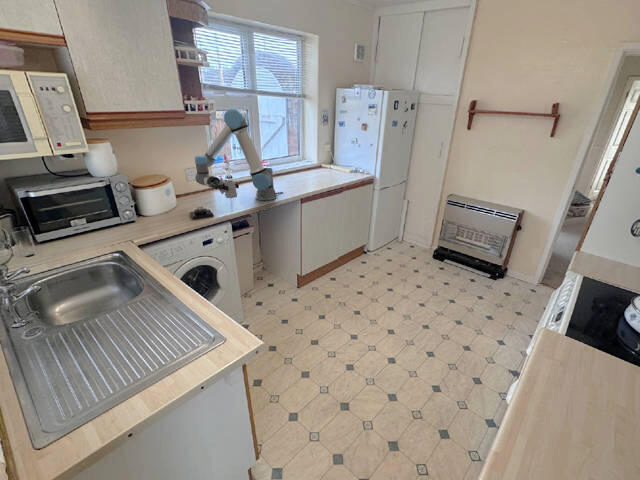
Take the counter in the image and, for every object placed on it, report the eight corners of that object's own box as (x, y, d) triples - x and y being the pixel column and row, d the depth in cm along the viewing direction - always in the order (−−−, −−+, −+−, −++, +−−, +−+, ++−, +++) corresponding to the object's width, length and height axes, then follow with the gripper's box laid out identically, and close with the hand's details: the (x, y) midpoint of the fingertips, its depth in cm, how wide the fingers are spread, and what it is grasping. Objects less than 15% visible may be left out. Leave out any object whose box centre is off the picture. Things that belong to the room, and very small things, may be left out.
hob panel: (209, 212, 210) (208, 206, 208) (213, 216, 202) (212, 210, 201) (190, 215, 204) (189, 209, 202) (193, 220, 196) (192, 213, 195)
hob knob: (203, 209, 204) (203, 206, 204) (205, 211, 201) (204, 208, 200) (196, 210, 202) (195, 207, 201) (197, 212, 199) (197, 209, 198)
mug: (233, 198, 204) (231, 180, 198) (217, 197, 206) (214, 178, 201) (239, 195, 210) (237, 177, 205) (224, 194, 213) (221, 176, 208)
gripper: (225, 184, 225) (246, 190, 212) (199, 189, 210) (219, 196, 198) (224, 173, 221) (245, 178, 209) (197, 178, 207) (218, 184, 194)
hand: (232, 187), depth 203 cm, fingers closed on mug, 7 cm apart
